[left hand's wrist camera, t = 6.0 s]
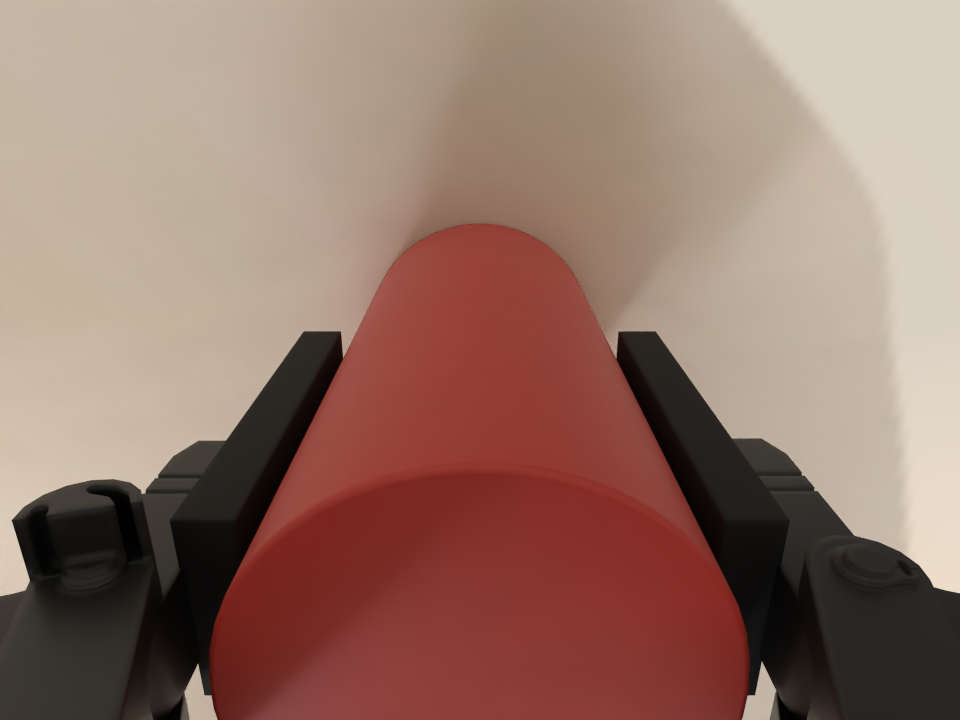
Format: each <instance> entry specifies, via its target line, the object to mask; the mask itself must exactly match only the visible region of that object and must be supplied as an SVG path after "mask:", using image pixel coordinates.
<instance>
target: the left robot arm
mask: <svg viewBox="0 0 960 720" xmlns="http://www.w3.org/2000/svg"><path fill="white" fill-rule="evenodd" d="M342 360H343V352H342V340H341V332H303V334H302V335H301V336H300V338H299V339H298V341H297V342H296V343H295V345H294V346H293V348H292V349H291V350H290V352H289V353H288V355H287V356H286V357H285V359H284V360H283V362H282V363H281V364H280V366H279V367H278V369H277V370H276V372H275V373H274V374H273V376H272V377H271V379H270V380H269V381H268V383H267V384H266V386H265V387H264V388H263V390H262V391H261V393H260V394H259V395H258V397H257V398H256V400H255V401H254V402H253V404H252V405H251V407H250V408H249V409H248V411H247V412H246V414H245V415H244V416H243V418H242V419H241V421H240V422H239V423H238V425H237V426H236V428H235V429H234V431H233V432H232V433H231V435H230V436H229V438H228V439H227V440H226V441H198V442H196V443H194V444H193V445H191V446H190V447H188V448H186V449H185V450H183V451H181V452H180V453H178V454H177V455H175V456H173V458H172V459H171V460H170V461H169V462H168V464H167V465H166V466H165V467H164V468H163V470H162V471H161V472H160V473H159V475H158V478H155V479H154V481H153V482H152V483H151V484H150V485H149V487H148V488H147V489H146V494H141V490H140V489H138V488H137V487H136V486H134V485H133V484H132V483H129V482H124V481H119V480H114V479H111V480H91V481H86V482H82V483H77V484H73V485H68V486H65V487H63V488H60V489H58V490H55V491H52V492H50V493H47V494H45V495H43V496H41V497H39V498H38V499H36V500H35V501H33V502H31V503H30V504H28V505H26V506H25V507H24V508H23V509H22V510H21V511H20V512H19V513H18V514H17V515H16V516H15V517H14V519H13V520H12V522H13V526H14V529H15V532H16V536H17V539H18V542H19V545H20V549H21V552H22V555H23V559H24V562H25V565H26V569H27V572H28V575H29V578H30V582H29V584H28V586H27V589H26V591H22V592H18V593H15V594H10V595H5V596H0V720H189V714H188V707H187V702H186V698H185V693H184V691H185V689H186V687H187V685H188V683H189V681H190V679H191V677H192V675H193V673H194V671H195V669H196V667H197V665H198V664H199V669H200V674H201V679H202V684H203V689H204V694H205V695H212V694H211V688H210V681H209V653H210V645H211V639H212V634H213V629H214V624H215V620H216V618H217V615H218V613H219V610H220V607H221V605H222V602H223V599H224V597H225V594H226V592H227V590H228V588H229V586H230V584H231V582H232V580H233V578H234V576H235V574H236V572H237V570H238V568H239V566H240V564H241V562H242V560H243V558H244V556H245V554H246V552H247V550H248V548H249V546H250V544H251V542H252V540H253V538H254V536H255V534H256V532H257V530H258V528H259V526H260V524H261V522H262V520H263V518H264V516H265V514H266V512H267V510H268V508H269V506H270V504H271V502H272V500H273V498H274V496H275V494H276V492H277V490H278V488H279V486H280V484H281V482H282V480H283V478H284V476H285V474H286V472H287V470H288V468H289V466H290V464H291V462H292V460H293V458H294V456H295V454H296V452H297V450H298V448H299V446H300V444H301V442H302V440H303V438H304V436H305V434H306V432H307V430H308V428H309V426H310V424H311V422H312V420H313V418H314V416H315V414H316V412H317V410H318V408H319V406H320V404H321V402H322V400H323V398H324V396H325V394H326V392H327V390H328V388H329V386H330V384H331V382H332V380H333V378H334V376H335V374H336V372H337V370H338V368H339V366H340V364H341V362H342ZM616 360H617V362H618V364H619V366H620V368H621V370H622V372H623V374H624V376H625V378H626V380H627V382H628V384H629V386H630V388H631V390H632V392H633V394H634V396H635V398H636V400H637V402H638V404H639V406H640V408H641V410H642V412H643V414H644V416H645V418H646V420H647V422H648V424H649V426H650V428H651V430H652V432H653V434H654V436H655V438H656V440H657V442H658V444H659V446H660V448H661V450H662V452H663V454H664V457H665V459H666V461H667V463H668V465H669V467H670V469H671V471H672V473H673V475H674V477H675V479H676V481H677V483H678V485H679V487H680V489H681V491H682V493H683V495H684V497H685V499H686V501H687V503H688V505H689V507H690V509H691V511H692V513H693V515H694V517H695V519H696V521H697V523H698V525H699V527H700V529H701V531H702V533H703V535H704V537H705V539H706V541H707V543H708V545H709V547H710V549H711V551H712V553H713V555H714V557H715V559H716V561H717V563H718V565H719V567H720V569H721V571H722V573H723V575H724V577H725V579H726V581H727V583H728V585H729V587H730V589H731V591H732V593H733V595H734V598H735V600H736V602H737V604H738V606H739V609H740V612H741V615H742V619H743V622H744V625H745V628H746V632H747V638H748V646H749V654H750V672H749V691H748V695H755V692H756V687H757V682H758V677H759V672H760V667H761V662H763V664H764V666H765V668H766V670H767V672H768V674H769V676H770V678H771V680H772V682H773V684H774V686H775V689H776V693H775V698H774V702H773V707H772V712H771V716H770V720H960V593H955V592H950V591H945V590H942V589H938V588H934V587H933V585H932V583H931V581H930V579H929V578H928V577H927V575H926V574H925V573H924V571H923V570H922V569H921V567H920V566H919V565H918V564H916V563H915V562H914V561H912V560H911V559H909V558H908V557H907V556H905V555H904V554H902V553H901V552H899V551H897V550H895V549H893V548H890V547H888V546H886V545H884V544H881V543H879V542H876V541H872V540H868V539H864V538H860V537H856V536H854V535H853V534H852V532H851V531H850V530H849V529H848V528H847V526H846V525H845V524H844V523H843V522H842V520H841V519H840V518H839V517H838V516H837V514H836V513H835V512H834V511H833V510H832V508H831V507H830V506H829V505H828V503H827V502H826V501H825V500H824V499H823V497H822V496H821V495H820V494H819V493H818V491H814V487H813V485H812V484H811V483H810V482H809V481H808V479H807V478H806V477H805V476H802V472H801V471H800V470H799V469H798V467H797V466H796V465H795V464H794V463H793V461H792V460H791V459H790V458H789V456H788V455H787V454H785V453H784V452H782V451H781V450H779V449H777V448H776V447H774V446H772V445H771V444H769V443H768V442H766V441H764V440H763V439H732V438H731V437H730V435H729V434H728V433H727V431H726V430H725V428H724V427H723V426H722V424H721V423H720V421H719V420H718V419H717V417H716V416H715V414H714V413H713V412H712V410H711V409H710V407H709V406H708V404H707V403H706V402H705V400H704V399H703V397H702V396H701V395H700V393H699V392H698V390H697V389H696V388H695V386H694V385H693V383H692V382H691V381H690V379H689V378H688V376H687V375H686V374H685V372H684V371H683V369H682V368H681V367H680V365H679V364H678V362H677V361H676V360H675V358H674V357H673V355H672V354H671V352H670V351H669V350H668V348H667V347H666V345H665V344H664V343H663V341H662V340H661V338H660V337H659V336H658V334H657V333H656V332H619V334H618V347H617V359H616Z"/></svg>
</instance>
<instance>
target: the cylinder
mask: <svg viewBox="0 0 960 720" xmlns="http://www.w3.org/2000/svg"><path fill="white" fill-rule="evenodd" d="M749 672H750V654H749V646H748V638H747V632H746V628H745V625H744V622H743V619H742V615H741V612H740V609H739V606H738V604H737V602H736V600H735V598H734V595H733V593H732V591H731V589H730V587H729V585H728V583H727V581H726V579H725V577H724V575H723V573H722V571H721V569H720V567H719V565H718V563H717V561H716V559H715V557H714V555H713V553H712V551H711V549H710V547H709V545H708V543H707V541H706V539H705V537H704V535H703V533H702V531H701V529H700V527H699V525H698V523H697V521H696V519H695V517H694V515H693V513H692V511H691V509H690V507H689V505H688V503H687V501H686V499H685V497H684V495H683V493H682V491H681V489H680V487H679V485H678V483H677V481H676V479H675V477H674V475H673V473H672V471H671V469H670V467H669V465H668V463H667V461H666V459H665V457H664V454H663V452H662V450H661V448H660V446H659V444H658V442H657V440H656V438H655V436H654V434H653V432H652V430H651V428H650V426H649V424H648V422H647V420H646V418H645V416H644V414H643V412H642V410H641V408H640V406H639V404H638V402H637V400H636V398H635V396H634V394H633V392H632V390H631V388H630V386H629V384H628V382H627V380H626V378H625V376H624V374H623V372H622V370H621V368H620V366H619V364H618V362H617V360H616V358H615V356H614V354H613V352H612V350H611V348H610V346H609V344H608V342H607V340H606V338H605V336H604V334H603V332H602V330H601V328H600V326H599V324H598V322H597V320H596V318H595V316H594V313H593V311H592V309H591V307H590V305H589V303H588V301H587V299H586V297H585V295H584V293H583V291H582V289H581V287H580V285H579V283H578V281H577V279H576V277H575V276H574V274H573V273H572V271H571V270H570V269H569V267H568V266H567V264H566V263H565V262H564V261H563V260H562V259H561V258H560V257H559V256H558V255H557V254H556V253H555V252H554V251H553V250H552V249H550V248H549V247H548V246H547V245H545V244H544V243H542V242H541V241H539V240H537V239H536V238H534V237H532V236H530V235H528V234H526V233H523V232H521V231H518V230H515V229H512V228H508V227H505V226H498V225H492V224H469V225H460V226H456V227H452V228H448V229H444V230H442V231H439V232H436V233H434V234H431V235H430V236H428V237H426V238H424V239H422V240H420V241H419V242H417V243H416V244H415V245H413V246H412V247H411V248H409V249H408V250H407V251H406V252H405V253H403V254H402V255H401V256H400V257H399V258H398V259H397V260H396V262H395V263H394V264H393V265H392V267H391V268H390V269H389V271H388V272H387V274H386V275H385V277H384V279H383V281H382V282H381V284H380V286H379V288H378V290H377V292H376V294H375V296H374V298H373V300H372V302H371V304H370V306H369V308H368V310H367V312H366V314H365V316H364V318H363V320H362V322H361V324H360V326H359V328H358V330H357V332H356V334H355V336H354V338H353V340H352V342H351V344H350V346H349V348H348V350H347V352H346V354H345V356H344V358H343V360H342V362H341V364H340V366H339V368H338V370H337V372H336V374H335V376H334V378H333V380H332V382H331V384H330V386H329V388H328V390H327V392H326V394H325V396H324V398H323V400H322V402H321V404H320V406H319V408H318V410H317V412H316V414H315V416H314V418H313V420H312V422H311V424H310V426H309V428H308V430H307V432H306V434H305V436H304V438H303V440H302V442H301V444H300V446H299V448H298V450H297V452H296V454H295V456H294V458H293V460H292V462H291V464H290V466H289V468H288V470H287V472H286V474H285V476H284V478H283V480H282V482H281V484H280V486H279V488H278V490H277V492H276V494H275V496H274V498H273V500H272V502H271V504H270V506H269V508H268V510H267V512H266V514H265V516H264V518H263V520H262V522H261V524H260V526H259V528H258V530H257V532H256V534H255V536H254V538H253V540H252V542H251V544H250V546H249V548H248V550H247V552H246V554H245V556H244V558H243V560H242V562H241V564H240V566H239V568H238V570H237V572H236V574H235V576H234V578H233V580H232V582H231V584H230V586H229V588H228V590H227V592H226V594H225V597H224V599H223V602H222V605H221V607H220V610H219V613H218V615H217V618H216V620H215V624H214V629H213V634H212V639H211V645H210V653H209V681H210V688H211V694H212V700H213V706H214V710H215V713H216V716H217V719H218V720H742V717H743V713H744V709H745V704H746V700H747V696H748V691H749Z"/></svg>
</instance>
